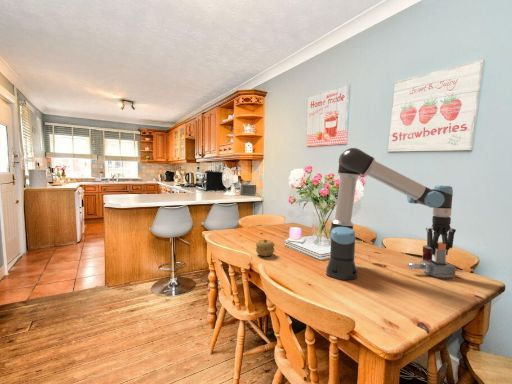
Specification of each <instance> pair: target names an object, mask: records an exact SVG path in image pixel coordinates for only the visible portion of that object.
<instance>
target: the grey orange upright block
mask: <svg viewBox="0 0 512 384" xmlns="http://www.w3.org/2000/svg"><path fill="white" fill-rule="evenodd" d="M436 249H438V251H437V262H435V261H433V263H434V264H436V265H445V252H446V244H445V243H443V242H441V241H438V243H437V247H436Z"/></svg>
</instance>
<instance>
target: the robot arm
mask: <svg viewBox="0 0 512 384" xmlns="http://www.w3.org/2000/svg"><path fill="white" fill-rule="evenodd" d="M337 174H338V175H339V185H338V192H337V201H336V208H335V215H334V219H333V220H331V222H330V223H331V224H330V230H329V234H328V236H329V240H330V255H329V256H330V257H329V260H328V263H327V266H326V269H325V270H326V274H327V276H329V277H331V278H333V279H337V280H341V281H352V280H355V279H357V278H358V268H357V266H356V263H355V251H356V249H355V248H356V232H355V230H354V223H353V222H352V215H353V208H354V201H355V195H356V188H357V187H356V186H357V179H358V178H359V177H360V176H361V175H362V176H366V175H367V176H369V177H370V178H372V179H375V180H376V181H377V182H380V183H382V184H384V185H386V186H388V187H390V188H392V189H393V190H395V191H397V192H399V193H401V194H403V195H405V196H406V200H407V202H408V203H409V204H414V205H415V204H420V205H422V206H425V207H428V208H431V209H432V225H431V226H430V227H426V228H425V230H426V233H427V234H426V239H427V240H426V242H427V243H426V245H427V246H428V247H431V254H432V260H433V261H435V262H437V251H438V249H436V247H437V243H438V242H439V239H440V237H441V239H442V240H441V241H442V243H445V244H446V252H445V262H447V256H448V253H449V250H451V249H452V248H453V247H454V246H453V245H454V240H455V239H454V238H455V233H456V229H455V228H452V227H451V223H452V218H451V216H452V205H453V196H454V194H453V193H454V191H453V190H454V189H453V186H450V185H434V187H433V188H429V187H427V186H426V185H424V184H422V183H419V182H417V181H415V180H413V179H411V178H409V177H407V176H406V175H404V174H402V173H399V171H398V172H397V171H395V170H394V169H392V168H390V167H388V166H386V165H384V164H382V163H380V162H378V161H376V159H375V157H373V156H371V155H370V154H368V153H366V152H364V151H363V150H361V149H360V148H357V147H350V148H347V149H345V150H344V151H343V152H342V153H341V154H340V155H339V158H338V169H337Z"/></svg>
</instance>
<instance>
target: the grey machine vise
mask: <svg viewBox="0 0 512 384" xmlns="http://www.w3.org/2000/svg"><path fill="white" fill-rule="evenodd" d="M407 268H408V269H414V270H416V269H417V270H422V271H423V273H424V274H425V275H427V276H429V277H431V276H432V278H434V279H435V278H436V279H439V278H440V279H441V280H452V279H453V275H454V276H455V275H456V270H457V269H456V268H457V267H456V266H455V265H453V264H451V263H448V262H447V261H446V262H445V265H436V264H434V263H433V260H424V259H423V258H422V261H420V263H407Z"/></svg>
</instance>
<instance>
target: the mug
mask: <svg viewBox="0 0 512 384" xmlns="http://www.w3.org/2000/svg"><path fill="white" fill-rule="evenodd" d="M421 258H422V260H423V259H424V260H432V254H431V247H428V246H427V244H426V245H425V244H424V245H422V257H421Z"/></svg>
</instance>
